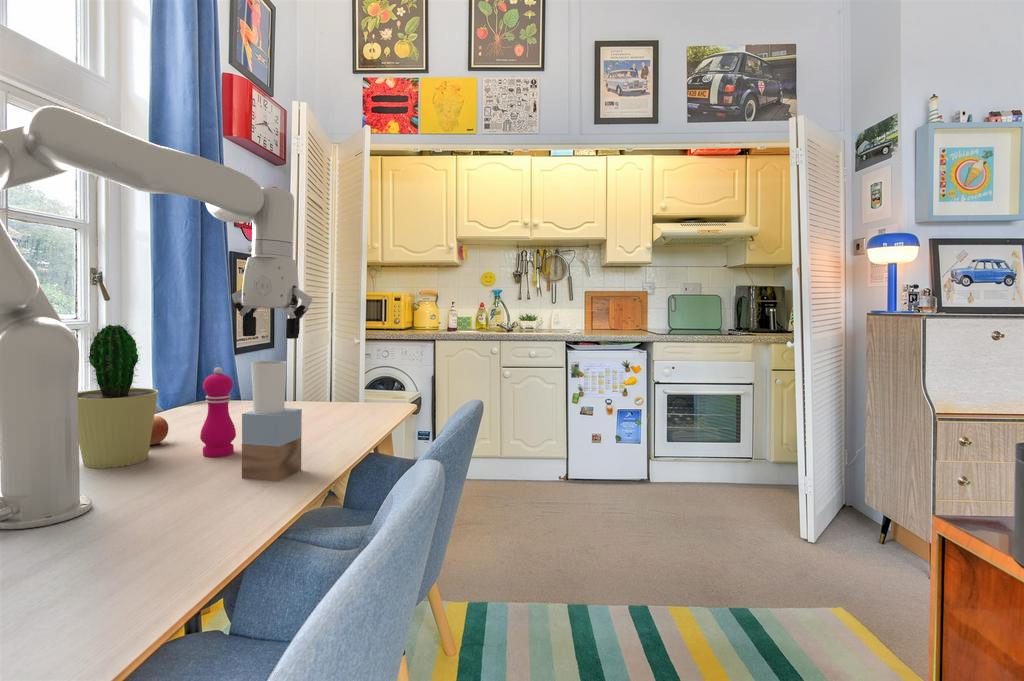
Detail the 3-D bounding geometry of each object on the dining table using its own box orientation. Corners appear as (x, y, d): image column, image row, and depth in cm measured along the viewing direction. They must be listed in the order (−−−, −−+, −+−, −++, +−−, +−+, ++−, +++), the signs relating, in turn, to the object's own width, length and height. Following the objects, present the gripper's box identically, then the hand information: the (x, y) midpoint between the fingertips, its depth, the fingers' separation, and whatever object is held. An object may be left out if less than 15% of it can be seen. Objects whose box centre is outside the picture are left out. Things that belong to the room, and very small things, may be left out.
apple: (119, 447, 129) (119, 413, 129) (150, 439, 137) (150, 408, 136) (145, 450, 127) (145, 416, 127) (175, 442, 135) (175, 410, 134)
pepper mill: (225, 458, 122) (225, 369, 121) (193, 457, 122) (192, 368, 121) (241, 450, 129) (241, 366, 128) (211, 449, 130) (211, 365, 128)
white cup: (274, 407, 116) (274, 360, 115) (293, 411, 112) (293, 362, 111) (244, 411, 110) (244, 361, 110) (262, 415, 107) (263, 364, 106)
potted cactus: (175, 455, 124) (174, 322, 122) (109, 474, 109) (107, 323, 107) (123, 448, 128) (121, 320, 126) (52, 466, 113) (49, 321, 111)
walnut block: (278, 481, 107) (278, 446, 107) (241, 478, 109) (241, 443, 108) (301, 470, 115) (301, 437, 115) (267, 467, 117) (267, 434, 116)
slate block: (278, 446, 107) (278, 416, 107) (242, 443, 108) (242, 413, 108) (301, 437, 115) (301, 409, 114) (266, 434, 116) (266, 406, 116)
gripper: (221, 248, 107) (219, 335, 108) (301, 250, 104) (298, 340, 105) (247, 253, 115) (245, 334, 115) (322, 254, 111) (319, 338, 112)
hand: (270, 337), depth 110 cm, fingers open, 9 cm apart
